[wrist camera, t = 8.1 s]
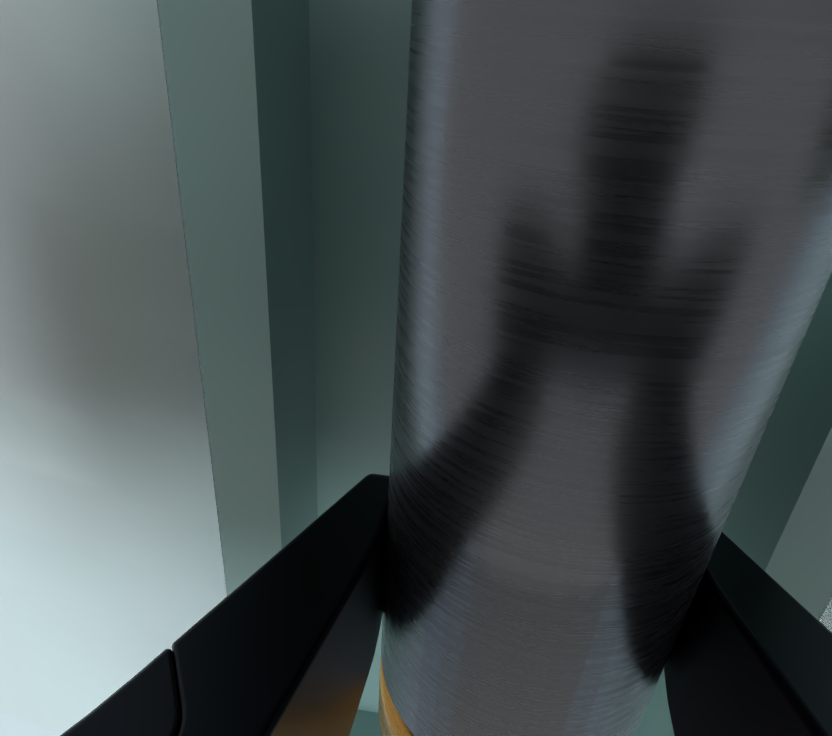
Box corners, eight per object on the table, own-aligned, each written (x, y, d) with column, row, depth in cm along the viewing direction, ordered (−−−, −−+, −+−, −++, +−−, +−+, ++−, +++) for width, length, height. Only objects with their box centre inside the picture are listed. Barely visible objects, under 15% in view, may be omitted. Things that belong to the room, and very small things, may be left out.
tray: (648, 765, 15) (670, 888, 13) (288, 702, 16) (252, 808, 14) (1199, -527, 5) (1656, -897, 3) (218, -517, 6) (60, -812, 4)
